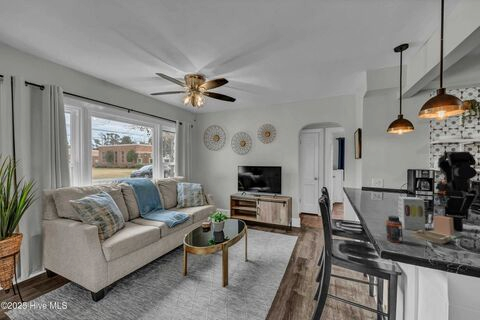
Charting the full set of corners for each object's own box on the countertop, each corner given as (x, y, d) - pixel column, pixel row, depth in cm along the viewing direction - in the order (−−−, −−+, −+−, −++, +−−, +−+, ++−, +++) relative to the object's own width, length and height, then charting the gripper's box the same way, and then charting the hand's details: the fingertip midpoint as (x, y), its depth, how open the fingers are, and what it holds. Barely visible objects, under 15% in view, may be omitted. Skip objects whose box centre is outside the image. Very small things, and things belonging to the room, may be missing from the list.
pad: (435, 230, 108) (435, 229, 108) (462, 235, 99) (462, 234, 99) (426, 233, 104) (426, 231, 104) (453, 239, 95) (452, 237, 95)
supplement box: (404, 229, 111) (402, 198, 111) (398, 224, 119) (396, 196, 120) (426, 231, 107) (424, 199, 108) (418, 226, 115) (417, 196, 116)
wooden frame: (421, 233, 103) (421, 229, 103) (451, 240, 93) (450, 236, 93) (411, 236, 99) (411, 232, 99) (441, 244, 89) (441, 239, 89)
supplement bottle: (406, 243, 90) (404, 218, 91) (390, 242, 91) (389, 217, 92) (398, 239, 96) (397, 215, 96) (384, 238, 97) (383, 214, 98)
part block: (438, 230, 105) (437, 215, 105) (453, 234, 100) (452, 217, 100) (434, 232, 103) (433, 216, 104) (450, 235, 98) (449, 218, 98)
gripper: (447, 176, 108) (448, 206, 107) (429, 177, 100) (431, 209, 99) (478, 177, 98) (480, 209, 97) (461, 178, 90) (463, 214, 89)
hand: (462, 210), depth 96 cm, fingers open, 9 cm apart
